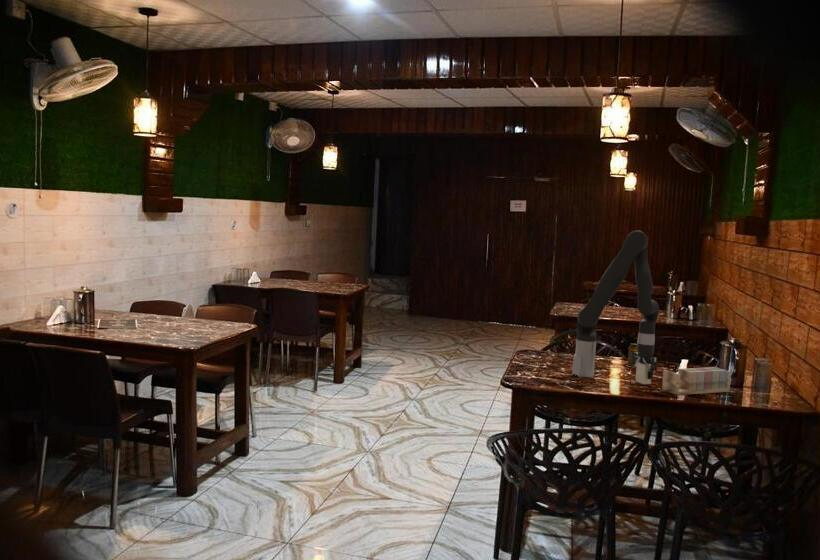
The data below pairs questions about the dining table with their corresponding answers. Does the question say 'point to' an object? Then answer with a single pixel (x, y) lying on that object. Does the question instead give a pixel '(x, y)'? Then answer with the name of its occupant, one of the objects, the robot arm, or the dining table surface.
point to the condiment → (631, 353)
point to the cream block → (642, 374)
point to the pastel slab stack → (696, 381)
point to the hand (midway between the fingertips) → (643, 377)
